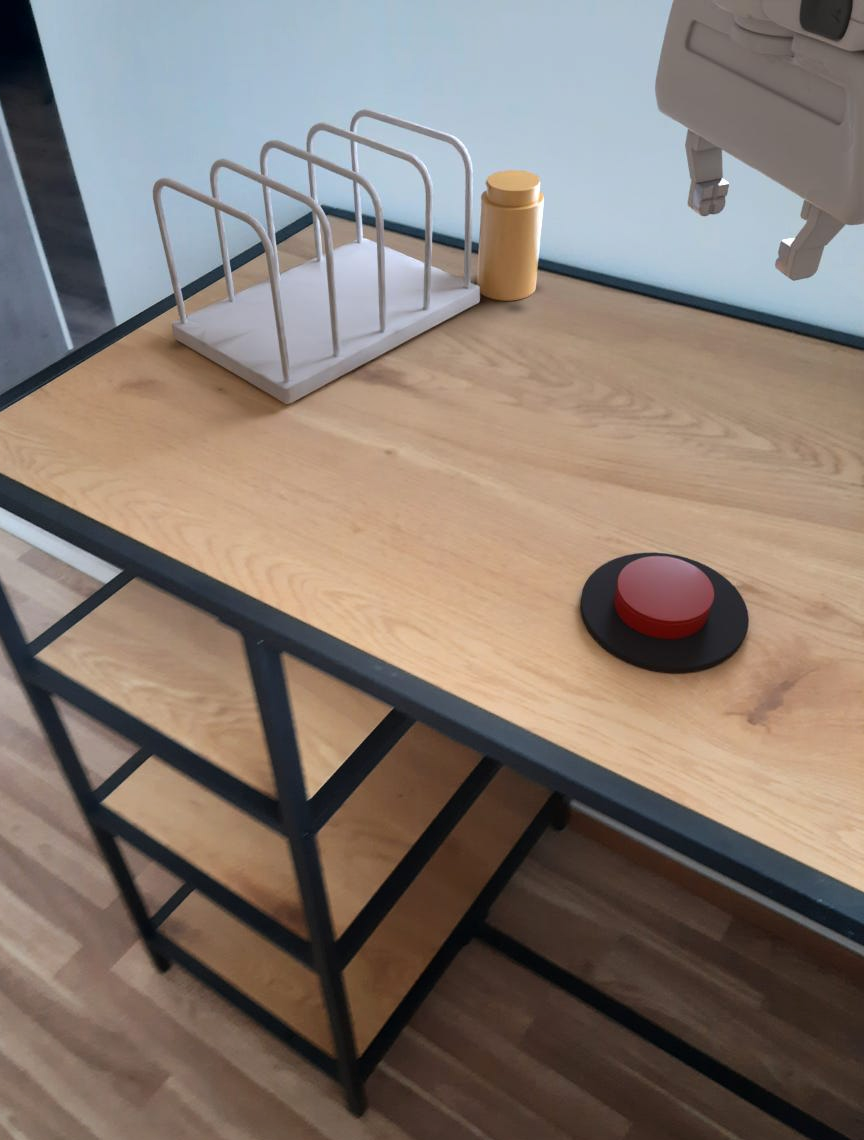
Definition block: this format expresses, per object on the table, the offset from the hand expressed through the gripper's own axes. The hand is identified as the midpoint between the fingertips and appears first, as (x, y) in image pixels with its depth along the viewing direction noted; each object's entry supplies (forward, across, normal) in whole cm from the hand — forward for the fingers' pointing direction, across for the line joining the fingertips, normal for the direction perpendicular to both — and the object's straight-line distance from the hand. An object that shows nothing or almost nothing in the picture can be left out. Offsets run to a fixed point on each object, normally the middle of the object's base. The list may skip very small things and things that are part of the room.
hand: (746, 240), depth 56 cm
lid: (+18, +9, -7) cm, 22 cm away
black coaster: (+20, +9, -7) cm, 23 cm away
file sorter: (+20, -37, -18) cm, 46 cm away
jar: (+20, -38, +2) cm, 43 cm away
